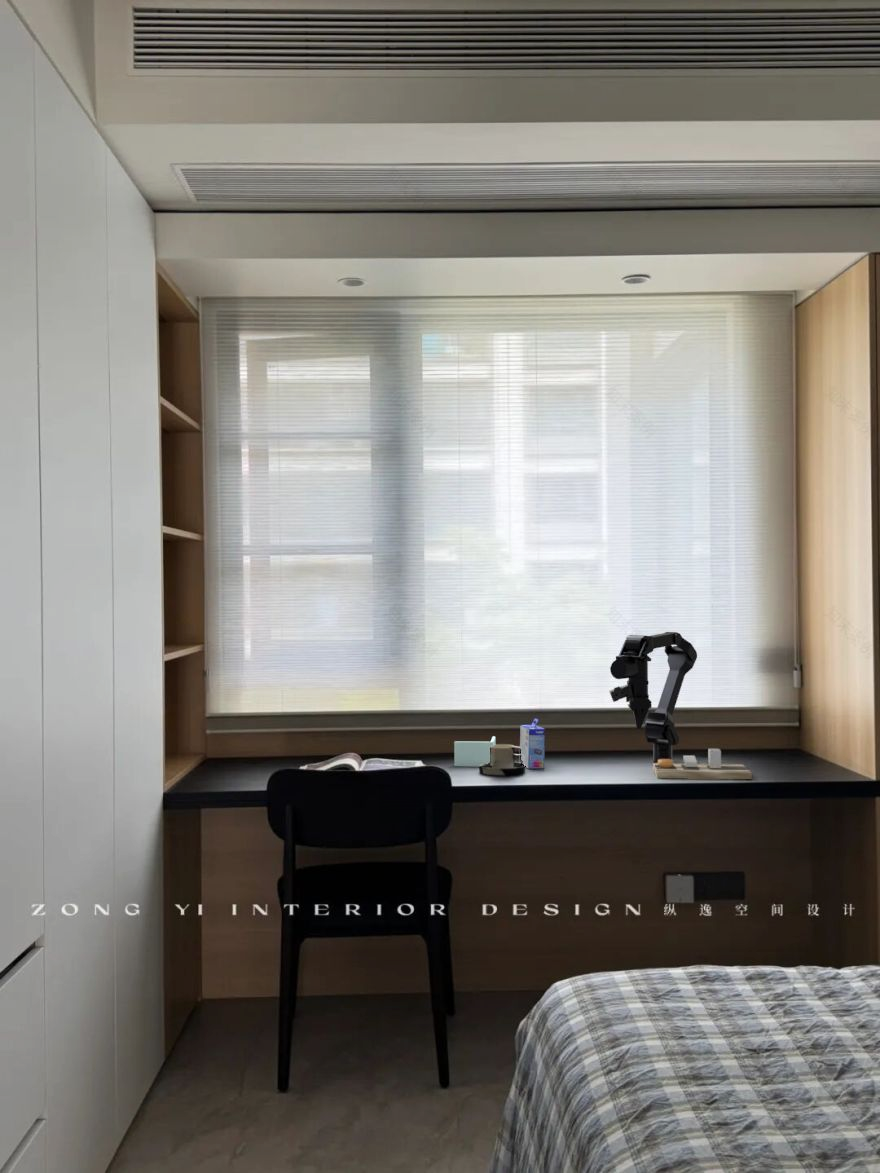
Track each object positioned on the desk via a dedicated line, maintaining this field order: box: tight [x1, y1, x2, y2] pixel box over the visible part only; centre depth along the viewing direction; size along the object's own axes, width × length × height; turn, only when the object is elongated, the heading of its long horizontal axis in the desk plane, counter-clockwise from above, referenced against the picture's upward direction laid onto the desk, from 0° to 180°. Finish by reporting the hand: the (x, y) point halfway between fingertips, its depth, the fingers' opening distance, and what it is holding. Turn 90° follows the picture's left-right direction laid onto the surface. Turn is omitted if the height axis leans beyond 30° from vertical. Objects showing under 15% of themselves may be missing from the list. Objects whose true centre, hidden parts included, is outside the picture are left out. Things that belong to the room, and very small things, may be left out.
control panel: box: [652, 762, 753, 780], centre depth 282 cm, size 14×26×2 cm, turn 83°
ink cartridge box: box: [519, 718, 546, 770], centre depth 298 cm, size 10×6×14 cm, turn 11°
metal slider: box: [707, 748, 722, 768], centre depth 282 cm, size 4×3×5 cm
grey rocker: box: [682, 755, 698, 767], centre depth 283 cm, size 6×3×1 cm, turn 173°
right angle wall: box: [453, 735, 497, 767], centre depth 305 cm, size 12×12×8 cm
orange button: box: [658, 758, 674, 768], centre depth 284 cm, size 4×4×2 cm
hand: (638, 728), depth 292 cm, fingers closed
